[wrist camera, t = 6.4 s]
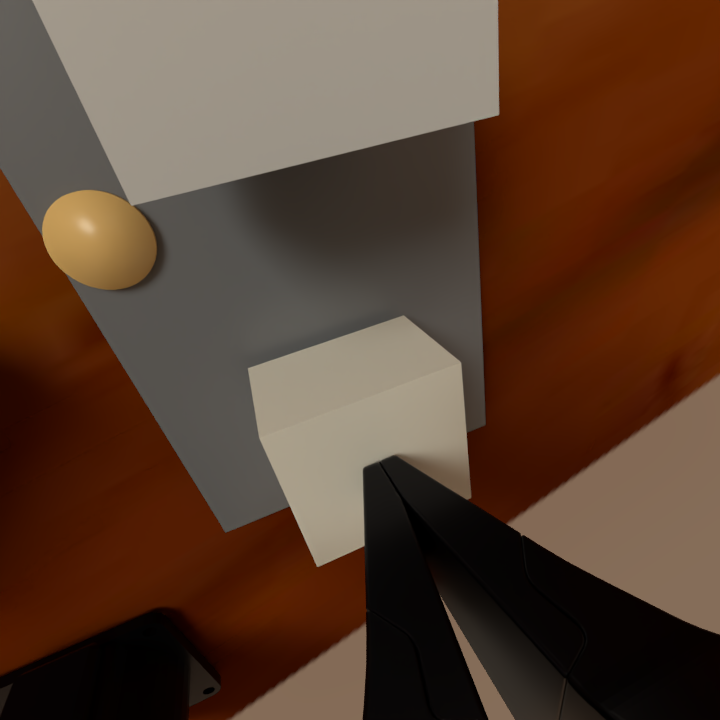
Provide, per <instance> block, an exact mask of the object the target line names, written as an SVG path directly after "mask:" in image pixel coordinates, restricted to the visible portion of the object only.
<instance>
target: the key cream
mask: <svg viewBox="0 0 720 720" xmlns="http://www.w3.org/2000/svg"><path fill="white" fill-rule="evenodd" d="M248 373H249V379H250V385H251V391H252V397H253V403H254V409H255V415H256V422H257V428H258V434H259V439H260V441H261V443H262V445H263V448H264V450H265V452H266V454H267V457H268V459H269V461H270V463H271V465H272V468H273V470H274V472H275V474H276V476H277V479H278V481H279V483H280V485H281V488H282V490H283V492H284V494H285V496H286V499H287V501H288V503H289V505H290V507H291V510H292V512H293V514H294V516H295V519H296V521H297V523H298V525H299V527H300V530H301V532H302V534H303V536H304V539H305V541H306V543H307V545H308V547H309V550H310V552H311V554H312V556H313V558H314V561H315V563H316V565H317V567H319V566H321V565H323V564H326V563H328V562H330V561H332V560H334V559H337V558H339V557H341V556H343V555H346V554H348V553H350V552H352V551H354V550H357V549H359V548H361V547H363V546H365V545H364V506H363V468H364V467H366V466H368V465H371V464H373V463H375V462H378V463H380V461H381V460H383V459H385V458H388V457H390V456H392V455H396V456H398V457H399V458H401V459H403V460H404V461H406V462H407V463H409V464H411V465H412V466H414V467H415V468H417V469H419V470H420V471H422V472H423V473H425V474H427V475H428V476H430V477H431V478H433V479H435V480H436V481H438V482H439V483H441V484H443V485H444V486H446V487H447V488H449V489H451V490H452V491H454V492H455V493H457V494H459V495H460V496H462V497H463V498H465V499H466V500H468V499H470V498H471V487H470V474H469V460H468V447H467V434H466V420H465V407H464V394H463V380H462V367H461V362H460V361H459V360H458V359H456V358H455V357H454V356H453V355H452V354H450V353H449V352H448V351H447V350H445V349H444V348H443V347H442V346H441V345H439V344H438V343H437V342H436V341H434V340H433V339H432V338H431V337H430V336H428V335H427V334H426V333H425V332H423V331H422V330H421V329H420V328H419V327H417V326H416V325H415V324H414V323H412V322H411V321H410V320H409V319H408V318H406V317H405V316H404V315H403V316H400V317H397V318H394V319H392V320H389V321H386V322H383V323H380V324H377V325H374V326H371V327H368V328H365V329H362V330H359V331H356V332H353V333H350V334H347V335H344V336H341V337H339V338H336V339H333V340H330V341H327V342H324V343H321V344H318V345H315V346H312V347H309V348H306V349H303V350H300V351H297V352H294V353H291V354H288V355H286V356H283V357H280V358H277V359H274V360H271V361H268V362H265V363H262V364H259V365H256V366H253V367H250V368H248Z"/></svg>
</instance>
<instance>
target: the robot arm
mask: <svg viewBox="0 0 720 720" xmlns="http://www.w3.org/2000/svg"><path fill="white" fill-rule="evenodd" d="M363 506H364V545H365V584H366V609H367V612H366V632H367V641H366V645H367V647H366V648H367V649H366V655H367V656H366V659H367V660H366V679H365V696H364V710H363V720H488V717H487V715H486V712H485V710H484V707H483V705H482V702H481V699H480V697H479V694H478V692H477V689H476V687H475V684H474V681H473V679H472V677H471V674H470V671H469V669H468V666H467V664H466V661H465V658H464V656H463V653H462V651H461V648H460V646H459V643H458V641H457V639H456V636H455V633H454V630H453V628H452V625H451V623H450V620H449V618H448V615H447V612H446V610H445V608H444V605H443V602H442V600H441V597H442V599H443V601H444V602H445V604H446V605H447V607H448V609H449V611H450V612H451V614H452V616H453V617H454V619H455V620H456V622H457V624H458V625H459V627H460V629H461V630H462V632H463V634H464V635H465V637H466V639H467V640H468V642H469V643H470V645H471V647H472V649H473V650H474V652H475V654H476V655H477V657H478V659H479V660H480V662H481V664H482V665H483V667H484V669H485V670H486V672H487V674H488V675H489V677H490V679H491V680H492V682H493V684H494V685H495V687H496V688H497V690H498V692H499V694H500V695H501V697H502V699H503V700H504V702H505V704H506V705H507V707H508V708H509V710H510V712H511V714H512V715H513V717H514V719H515V720H720V635H719V634H716V633H713V632H710V631H708V630H705V629H702V628H699V627H697V626H694V625H692V624H690V623H687V622H685V621H683V620H681V619H679V618H677V617H675V616H673V615H671V614H669V613H667V612H665V611H663V610H661V609H659V608H657V607H655V606H653V605H651V604H649V603H647V602H645V601H643V600H641V599H639V598H637V597H635V596H633V595H631V594H629V593H627V592H625V591H623V590H621V589H619V588H617V587H615V586H613V585H611V584H609V583H607V582H605V581H603V580H601V579H599V578H597V577H595V576H594V575H592V574H590V573H588V572H586V571H584V570H582V569H580V568H578V567H577V566H574V565H573V564H571V563H569V562H567V561H565V560H564V559H562V558H560V557H559V556H557V555H555V554H554V553H552V552H550V551H548V550H547V549H545V548H543V547H542V546H540V545H538V544H537V543H535V542H534V541H532V540H531V539H529V538H527V537H526V536H524V535H523V536H521V534H520V533H519V532H518V531H516V530H514V529H513V528H511V527H510V526H508V525H506V524H505V523H503V522H502V521H500V520H498V519H497V518H495V517H494V516H492V515H490V514H489V513H487V512H486V511H484V510H482V509H481V508H479V507H478V506H476V505H474V504H473V503H471V502H470V501H468V500H466V499H465V498H463V497H462V496H460V495H459V494H457V493H455V492H454V491H452V490H451V489H449V488H447V487H446V486H444V485H443V484H441V483H439V482H438V481H436V480H435V479H433V478H431V477H430V476H428V475H427V474H425V473H423V472H422V471H420V470H419V469H417V468H415V467H414V466H412V465H411V464H409V463H407V462H406V461H404V460H403V459H401V458H399V457H398V456H396V455H392V456H390V457H388V458H385V459H383V460H381V461H380V463H378V462H375V463H373V464H371V465H368V466H366V467H364V468H363ZM440 596H441V597H440ZM220 688H221V677H220V675H219V674H218V673H217V671H216V670H215V669H214V668H213V667H212V666H211V665H210V664H209V663H208V662H207V661H206V659H205V658H204V657H203V656H202V655H201V654H200V653H199V652H198V651H197V650H196V649H195V647H194V646H193V645H192V644H191V643H190V642H189V641H188V640H187V639H186V638H185V637H184V635H183V634H182V633H181V632H180V631H179V630H178V629H177V628H176V627H175V626H174V625H173V623H172V622H171V621H170V620H169V619H168V618H167V617H166V616H165V615H164V614H162V613H157V612H155V613H149V614H146V615H143V616H141V617H139V618H137V619H134V620H132V621H130V622H127V623H125V624H123V625H120V626H118V627H116V628H114V629H111V630H109V631H107V632H104V633H102V634H100V635H98V636H95V637H93V638H91V639H88V640H86V641H84V642H82V643H79V644H77V645H75V646H72V647H70V648H68V649H66V650H63V651H61V652H59V653H56V654H54V655H52V656H50V657H47V658H45V659H43V660H40V661H38V662H36V663H34V664H31V665H29V666H27V667H24V668H22V669H20V670H17V671H15V672H13V673H11V674H8V675H6V676H4V677H1V678H0V720H189V707H190V706H192V705H194V704H196V703H198V702H200V701H202V700H204V699H207V698H209V697H211V696H213V695H214V694H216V693H218V691H219V690H220Z"/></svg>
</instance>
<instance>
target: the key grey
mask: <svg viewBox="0 0 720 720" xmlns="http://www.w3.org/2000/svg"><path fill="white" fill-rule="evenodd" d="M32 1H33V3H34V5H35V7H36V9H37V11H38V13H39V15H40V18H41V20H42V22H43V24H44V26H45V28H46V30H47V32H48V34H49V36H50V38H51V40H52V42H53V45H54V47H55V49H56V51H57V53H58V55H59V57H60V59H61V61H62V63H63V65H64V67H65V70H66V72H67V74H68V76H69V78H70V80H71V82H72V84H73V86H74V88H75V90H76V92H77V94H78V97H79V99H80V101H81V103H82V105H83V107H84V109H85V111H86V113H87V115H88V117H89V119H90V121H91V124H92V126H93V128H94V130H95V132H96V134H97V136H98V138H99V140H100V142H101V144H102V146H103V149H104V151H105V153H106V155H107V157H108V159H109V161H110V163H111V165H112V167H113V169H114V171H115V173H116V176H117V178H118V180H119V182H120V184H121V186H122V188H123V190H124V192H125V194H126V196H127V198H128V201H129V203H130V205H131V206H133V205H137V204H141V203H145V202H149V201H153V200H157V199H161V198H165V197H169V196H173V195H177V194H182V193H186V192H190V191H194V190H198V189H202V188H206V187H210V186H214V185H218V184H222V183H226V182H230V181H234V180H238V179H242V178H246V177H250V176H254V175H258V174H262V173H266V172H271V171H275V170H279V169H283V168H287V167H291V166H295V165H299V164H303V163H307V162H311V161H315V160H319V159H323V158H327V157H331V156H335V155H339V154H343V153H347V152H351V151H355V150H359V149H364V148H368V147H372V146H376V145H380V144H384V143H388V142H392V141H396V140H400V139H404V138H408V137H412V136H416V135H420V134H424V133H428V132H432V131H436V130H440V129H444V128H448V127H452V126H457V125H461V124H465V123H469V122H473V121H477V120H481V119H485V118H489V117H493V116H497V115H499V62H498V0H32Z"/></svg>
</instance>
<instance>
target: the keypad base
mask: <svg viewBox="0 0 720 720" xmlns="http://www.w3.org/2000/svg"><path fill="white" fill-rule="evenodd" d="M0 168H1V170H2V171H3V173H4V175H5V176H6V178H7V179H8V181H9V183H10V184H11V186H12V188H13V189H14V191H15V192H16V194H17V196H18V197H19V199H20V201H21V202H22V204H23V205H24V207H25V209H26V210H27V212H28V213H29V215H30V217H31V218H32V220H33V222H34V223H35V225H36V226H37V228H38V230H39V231H40V233H41V234H42V236H43V240H44V244H45V247H46V249H47V251H48V253H49V255H50V257H51V258H52V259H53V261H54V262H55V263H56V265H57V266H58V267H59V268H60V269H61V270H62V271H63V272H65V273H66V275H67V277H68V278H69V280H70V281H71V283H72V285H73V286H74V288H75V290H76V291H77V293H78V294H79V296H80V298H81V299H82V301H83V302H84V304H85V306H86V307H87V309H88V311H89V312H90V314H91V315H92V317H93V319H94V320H95V322H96V324H97V325H98V327H99V328H100V330H101V332H102V333H103V335H104V336H105V338H106V340H107V341H108V343H109V345H110V346H111V348H112V349H113V351H114V353H115V354H116V356H117V357H118V359H119V361H120V362H121V364H122V366H123V367H124V369H125V370H126V372H127V374H128V375H129V377H130V379H131V380H132V382H133V383H134V385H135V387H136V388H137V390H138V391H139V393H140V395H141V396H142V398H143V400H144V401H145V403H146V404H147V406H148V408H149V409H150V411H151V413H152V414H153V416H154V417H155V419H156V421H157V422H158V424H159V425H160V427H161V429H162V430H163V432H164V434H165V435H166V437H167V438H168V440H169V442H170V443H171V445H172V447H173V448H174V450H175V451H176V453H177V455H178V456H179V458H180V459H181V461H182V463H183V464H184V466H185V468H186V469H187V471H188V472H189V474H190V476H191V477H192V479H193V481H194V482H195V484H196V485H197V487H198V489H199V490H200V492H201V493H202V495H203V497H204V498H205V500H206V502H207V503H208V505H209V506H210V508H211V510H212V511H213V513H214V514H215V516H216V518H217V519H218V521H219V523H220V524H221V526H222V527H223V529H224V531H225V532H229V531H231V530H233V529H236V528H238V527H241V526H243V525H246V524H248V523H250V522H253V521H255V520H258V519H260V518H262V517H265V516H267V515H270V514H272V513H274V512H277V511H279V510H282V509H284V508H287V507H289V506H290V505H289V503H288V501H287V499H286V496H285V494H284V492H283V490H282V488H281V485H280V483H279V481H278V479H277V476H276V474H275V472H274V470H273V468H272V465H271V463H270V461H269V459H268V457H267V454H266V452H265V450H264V448H263V445H262V443H261V441H260V439H259V434H258V428H257V422H256V415H255V409H254V403H253V397H252V391H251V385H250V379H249V373H248V368H250V367H253V366H256V365H259V364H262V363H265V362H268V361H271V360H274V359H277V358H280V357H283V356H286V355H288V354H291V353H294V352H297V351H300V350H303V349H306V348H309V347H312V346H315V345H318V344H321V343H324V342H327V341H330V340H333V339H336V338H339V337H341V336H344V335H347V334H350V333H353V332H356V331H359V330H362V329H365V328H368V327H371V326H374V325H377V324H380V323H383V322H386V321H389V320H392V319H394V318H397V317H400V316H403V315H404V316H405V317H406V318H408V319H409V320H410V321H411V322H412V323H414V324H415V325H416V326H417V327H419V328H420V329H421V330H422V331H423V332H425V333H426V334H427V335H428V336H430V337H431V338H432V339H433V340H434V341H436V342H437V343H438V344H439V345H441V346H442V347H443V348H444V349H445V350H447V351H448V352H449V353H450V354H452V355H453V356H454V357H455V358H456V359H458V360H459V361H460V362H461V367H462V380H463V394H464V407H465V420H466V433H467V432H470V431H472V430H475V429H477V428H480V427H482V426H484V425H486V418H485V393H484V368H483V342H482V317H481V292H480V266H479V241H478V215H477V190H476V165H475V139H474V121H473V122H469V123H465V124H461V125H457V126H452V127H448V128H444V129H440V130H436V131H432V132H428V133H424V134H420V135H416V136H412V137H408V138H404V139H400V140H396V141H392V142H388V143H384V144H380V145H376V146H372V147H368V148H364V149H359V150H355V151H351V152H347V153H343V154H339V155H335V156H331V157H327V158H323V159H319V160H315V161H311V162H307V163H303V164H299V165H295V166H291V167H287V168H283V169H279V170H275V171H271V172H266V173H262V174H258V175H254V176H250V177H246V178H242V179H238V180H234V181H230V182H226V183H222V184H218V185H214V186H210V187H206V188H202V189H198V190H194V191H190V192H186V193H182V194H177V195H173V196H169V197H165V198H161V199H157V200H153V201H149V202H145V203H141V204H137V205H133V206H131V205H130V203H129V201H128V198H127V196H126V194H125V192H124V190H123V188H122V186H121V184H120V182H119V180H118V178H117V176H116V173H115V171H114V169H113V167H112V165H111V163H110V161H109V159H108V157H107V155H106V153H105V151H104V149H103V146H102V144H101V142H100V140H99V138H98V136H97V134H96V132H95V130H94V128H93V126H92V124H91V121H90V119H89V117H88V115H87V113H86V111H85V109H84V107H83V105H82V103H81V101H80V99H79V97H78V94H77V92H76V90H75V88H74V86H73V84H72V82H71V80H70V78H69V76H68V74H67V72H66V70H65V67H64V65H63V63H62V61H61V59H60V57H59V55H58V53H57V51H56V49H55V47H54V45H53V42H52V40H51V38H50V36H49V34H48V32H47V30H46V28H45V26H44V24H43V22H42V20H41V18H40V15H39V13H38V11H37V9H36V7H35V5H34V3H33V1H32V0H0Z"/></svg>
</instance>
